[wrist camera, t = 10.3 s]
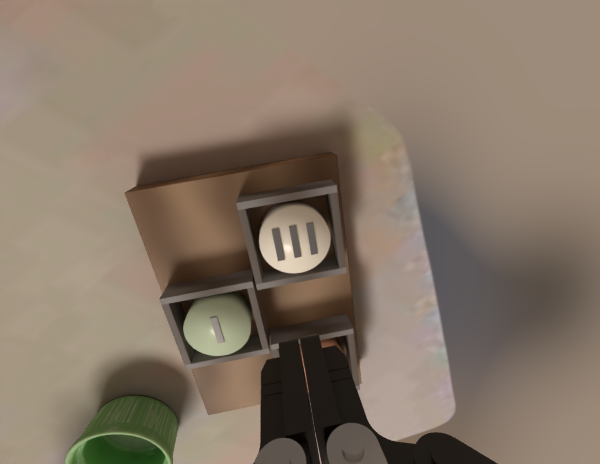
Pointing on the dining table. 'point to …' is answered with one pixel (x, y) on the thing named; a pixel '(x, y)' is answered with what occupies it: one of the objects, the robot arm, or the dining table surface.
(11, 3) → the dining table surface
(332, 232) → the button panel
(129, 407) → the ramekin
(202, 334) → the button sage
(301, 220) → the button cream
